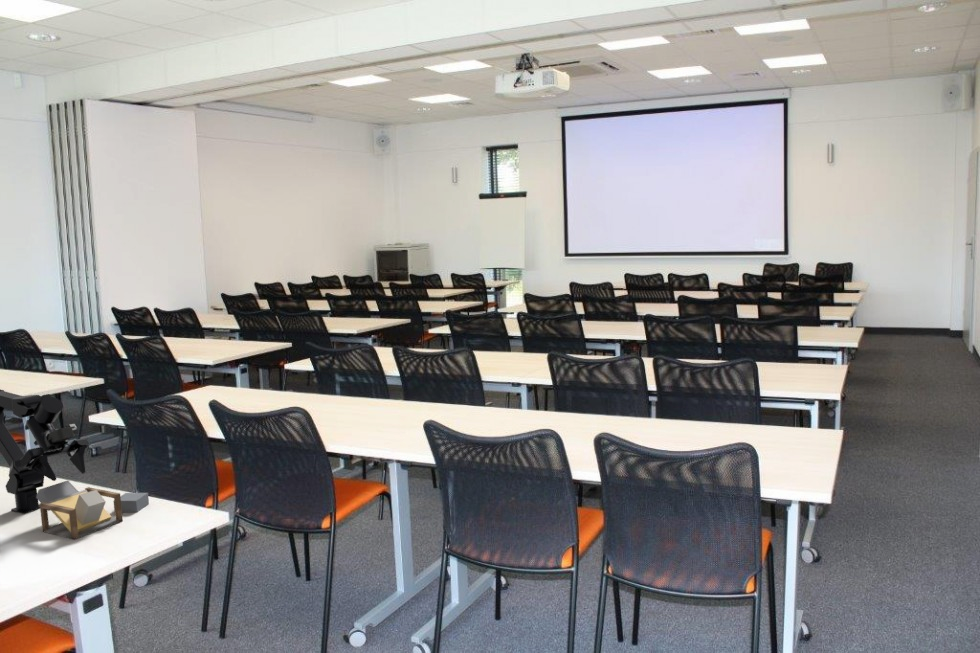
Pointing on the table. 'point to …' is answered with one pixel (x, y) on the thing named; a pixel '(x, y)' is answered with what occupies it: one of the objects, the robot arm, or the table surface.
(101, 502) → the grey upright block
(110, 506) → the table surface
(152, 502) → the table surface
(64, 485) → the trapdoor
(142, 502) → the plinth
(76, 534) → the frame
